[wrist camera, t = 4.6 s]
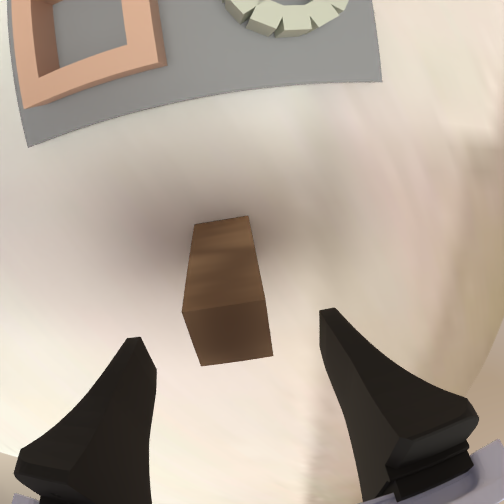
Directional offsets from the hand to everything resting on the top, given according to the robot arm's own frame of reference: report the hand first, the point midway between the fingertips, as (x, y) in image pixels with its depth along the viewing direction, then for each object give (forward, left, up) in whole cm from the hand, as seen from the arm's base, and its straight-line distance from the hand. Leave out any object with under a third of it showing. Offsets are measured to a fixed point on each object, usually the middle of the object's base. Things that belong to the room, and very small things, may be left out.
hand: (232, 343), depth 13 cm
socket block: (-6, +13, -8) cm, 17 cm away
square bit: (0, 0, -8) cm, 8 cm away
